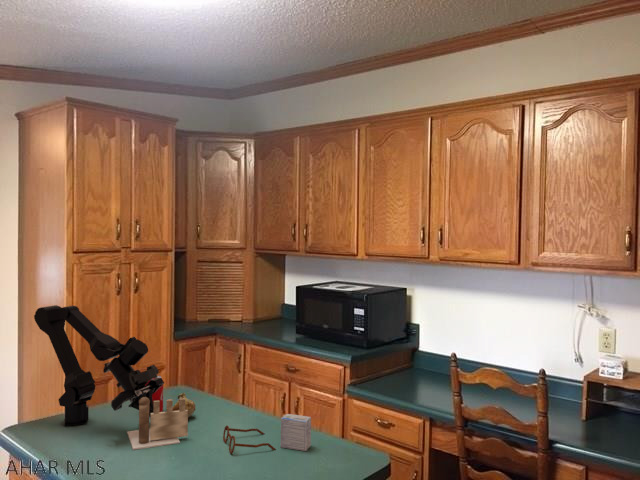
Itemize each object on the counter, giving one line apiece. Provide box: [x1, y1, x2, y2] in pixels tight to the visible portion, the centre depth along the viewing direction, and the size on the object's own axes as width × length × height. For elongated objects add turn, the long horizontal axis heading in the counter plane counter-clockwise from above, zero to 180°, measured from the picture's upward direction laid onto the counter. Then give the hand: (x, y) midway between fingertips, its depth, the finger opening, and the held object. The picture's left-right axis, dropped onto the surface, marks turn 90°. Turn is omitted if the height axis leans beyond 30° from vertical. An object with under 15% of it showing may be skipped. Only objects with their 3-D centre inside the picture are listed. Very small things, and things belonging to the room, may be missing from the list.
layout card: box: [126, 428, 181, 451], centre depth 164 cm, size 13×14×1 cm
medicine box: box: [280, 413, 312, 452], centre depth 159 cm, size 8×4×9 cm, turn 71°
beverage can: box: [145, 375, 164, 412], centre depth 185 cm, size 6×6×12 cm
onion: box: [172, 392, 196, 419], centre depth 181 cm, size 8×8×8 cm
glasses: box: [222, 425, 277, 455], centre depth 160 cm, size 13×13×5 cm
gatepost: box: [138, 397, 150, 444], centre depth 159 cm, size 3×3×14 cm
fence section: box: [149, 398, 189, 440], centre depth 162 cm, size 10×1×11 cm, turn 110°
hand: (154, 415), depth 165 cm, fingers closed
